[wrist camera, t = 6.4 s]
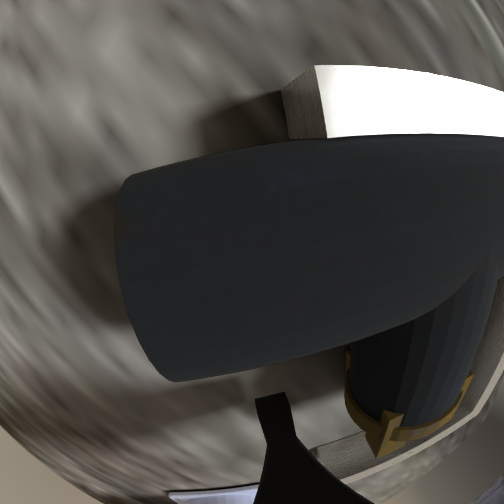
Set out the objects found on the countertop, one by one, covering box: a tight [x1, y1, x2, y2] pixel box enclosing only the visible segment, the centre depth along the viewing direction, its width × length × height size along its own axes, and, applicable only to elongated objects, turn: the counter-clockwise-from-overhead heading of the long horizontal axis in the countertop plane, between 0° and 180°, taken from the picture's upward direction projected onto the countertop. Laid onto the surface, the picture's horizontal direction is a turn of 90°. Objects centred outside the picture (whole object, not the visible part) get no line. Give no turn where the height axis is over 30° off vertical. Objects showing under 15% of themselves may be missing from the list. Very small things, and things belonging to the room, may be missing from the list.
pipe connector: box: [114, 133, 504, 459], centre depth 8 cm, size 12×5×15 cm
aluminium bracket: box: [281, 65, 504, 484], centre depth 10 cm, size 21×13×3 cm, turn 10°
